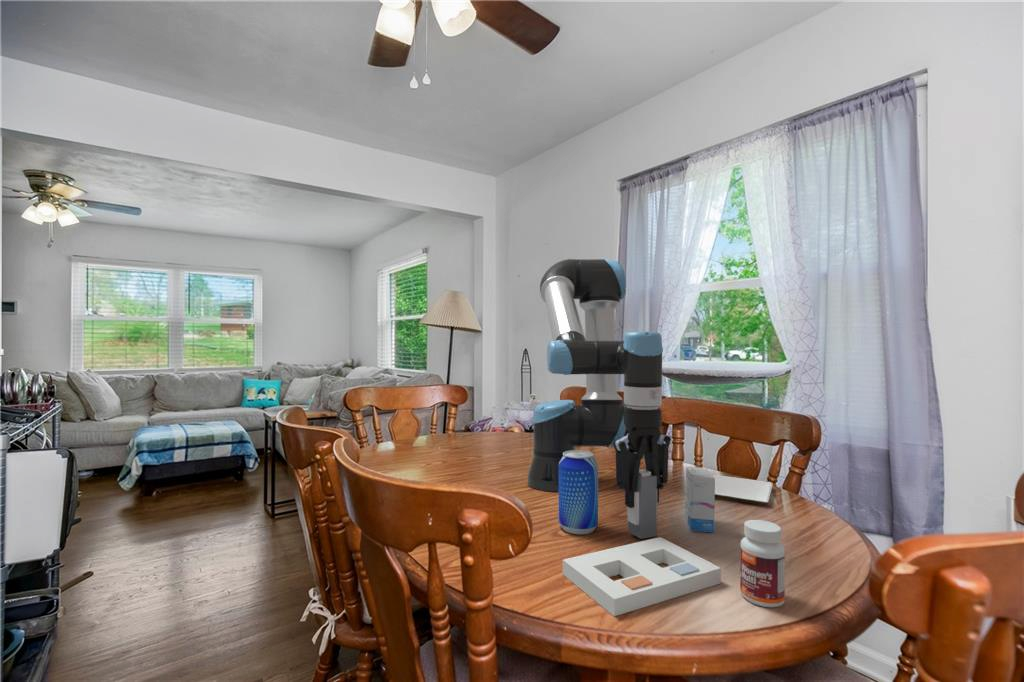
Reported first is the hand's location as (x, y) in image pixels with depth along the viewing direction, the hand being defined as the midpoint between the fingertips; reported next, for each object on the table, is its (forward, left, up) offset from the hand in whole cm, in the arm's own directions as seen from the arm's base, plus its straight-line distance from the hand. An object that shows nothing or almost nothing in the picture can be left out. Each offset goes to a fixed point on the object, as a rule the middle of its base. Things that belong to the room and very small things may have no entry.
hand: (642, 520), depth 97 cm
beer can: (-10, -9, -4) cm, 14 cm away
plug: (0, 0, -3) cm, 3 cm away
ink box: (0, +16, -4) cm, 16 cm away
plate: (-13, +42, -4) cm, 44 cm away
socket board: (+13, -12, -3) cm, 18 cm away
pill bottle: (+26, +1, -4) cm, 27 cm away
